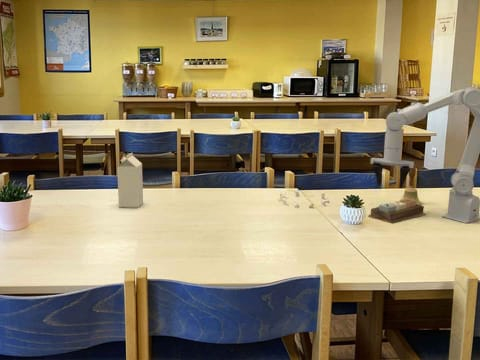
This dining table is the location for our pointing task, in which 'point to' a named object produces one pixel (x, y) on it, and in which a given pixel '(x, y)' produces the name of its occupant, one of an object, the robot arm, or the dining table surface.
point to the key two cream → (399, 205)
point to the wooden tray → (397, 214)
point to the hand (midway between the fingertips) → (390, 186)
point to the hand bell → (411, 188)
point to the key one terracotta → (409, 203)
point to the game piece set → (309, 196)
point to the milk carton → (130, 182)
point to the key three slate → (387, 208)
